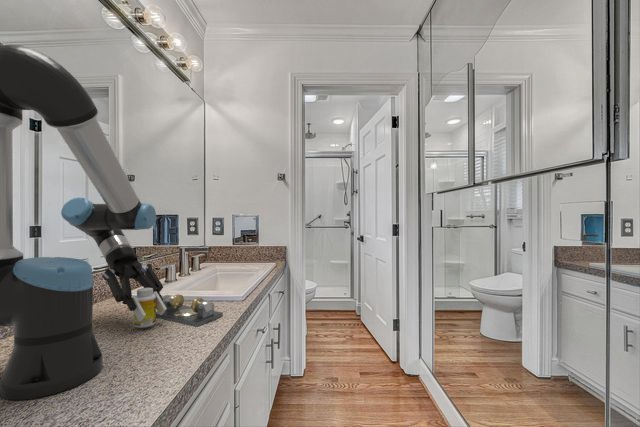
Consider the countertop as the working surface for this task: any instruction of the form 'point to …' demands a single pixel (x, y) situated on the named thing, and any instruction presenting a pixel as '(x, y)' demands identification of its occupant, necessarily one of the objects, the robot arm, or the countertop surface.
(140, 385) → the countertop surface
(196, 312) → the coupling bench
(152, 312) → the supplement bottle
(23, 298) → the robot arm
